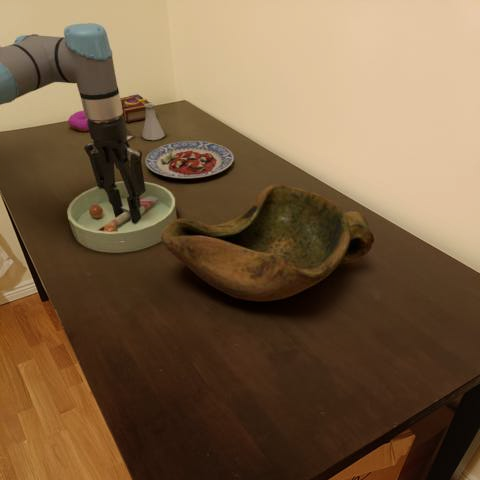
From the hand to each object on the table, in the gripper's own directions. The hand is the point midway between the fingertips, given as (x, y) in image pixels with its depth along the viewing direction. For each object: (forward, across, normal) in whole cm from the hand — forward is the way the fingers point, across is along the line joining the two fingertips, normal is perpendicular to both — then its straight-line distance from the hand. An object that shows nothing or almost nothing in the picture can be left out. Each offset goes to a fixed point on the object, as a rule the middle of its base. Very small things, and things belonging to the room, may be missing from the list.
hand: (128, 218), depth 103 cm
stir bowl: (+1, 0, +1) cm, 1 cm away
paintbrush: (+1, 0, 0) cm, 1 cm away
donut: (+1, +50, -47) cm, 69 cm away
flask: (+2, +24, -49) cm, 55 cm away
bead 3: (-1, +2, -7) cm, 7 cm away
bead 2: (-1, -1, +8) cm, 9 cm away
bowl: (+2, -40, +7) cm, 41 cm away
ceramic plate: (+2, +2, -35) cm, 35 cm away
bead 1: (-1, +8, +2) cm, 8 cm away
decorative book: (+2, +42, -65) cm, 78 cm away
